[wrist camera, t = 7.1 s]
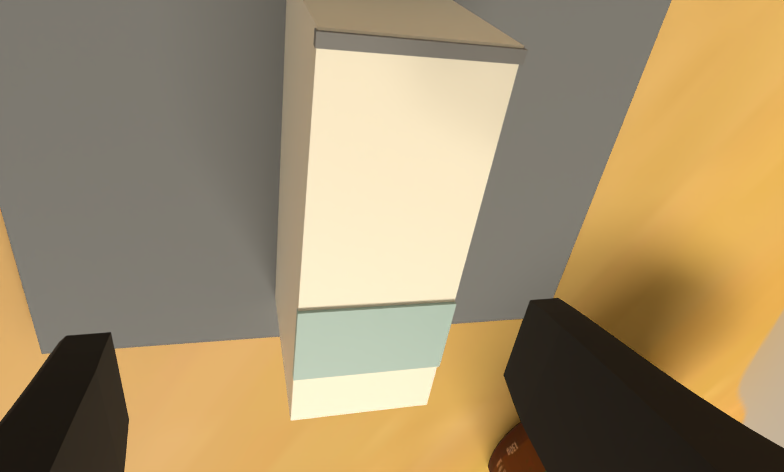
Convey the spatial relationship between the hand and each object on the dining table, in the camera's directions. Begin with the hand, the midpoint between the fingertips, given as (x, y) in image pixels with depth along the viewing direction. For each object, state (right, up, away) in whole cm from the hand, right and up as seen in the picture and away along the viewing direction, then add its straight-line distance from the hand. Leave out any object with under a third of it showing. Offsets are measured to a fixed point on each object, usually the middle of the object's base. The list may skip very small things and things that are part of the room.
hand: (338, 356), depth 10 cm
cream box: (-1, +4, +8) cm, 9 cm away
